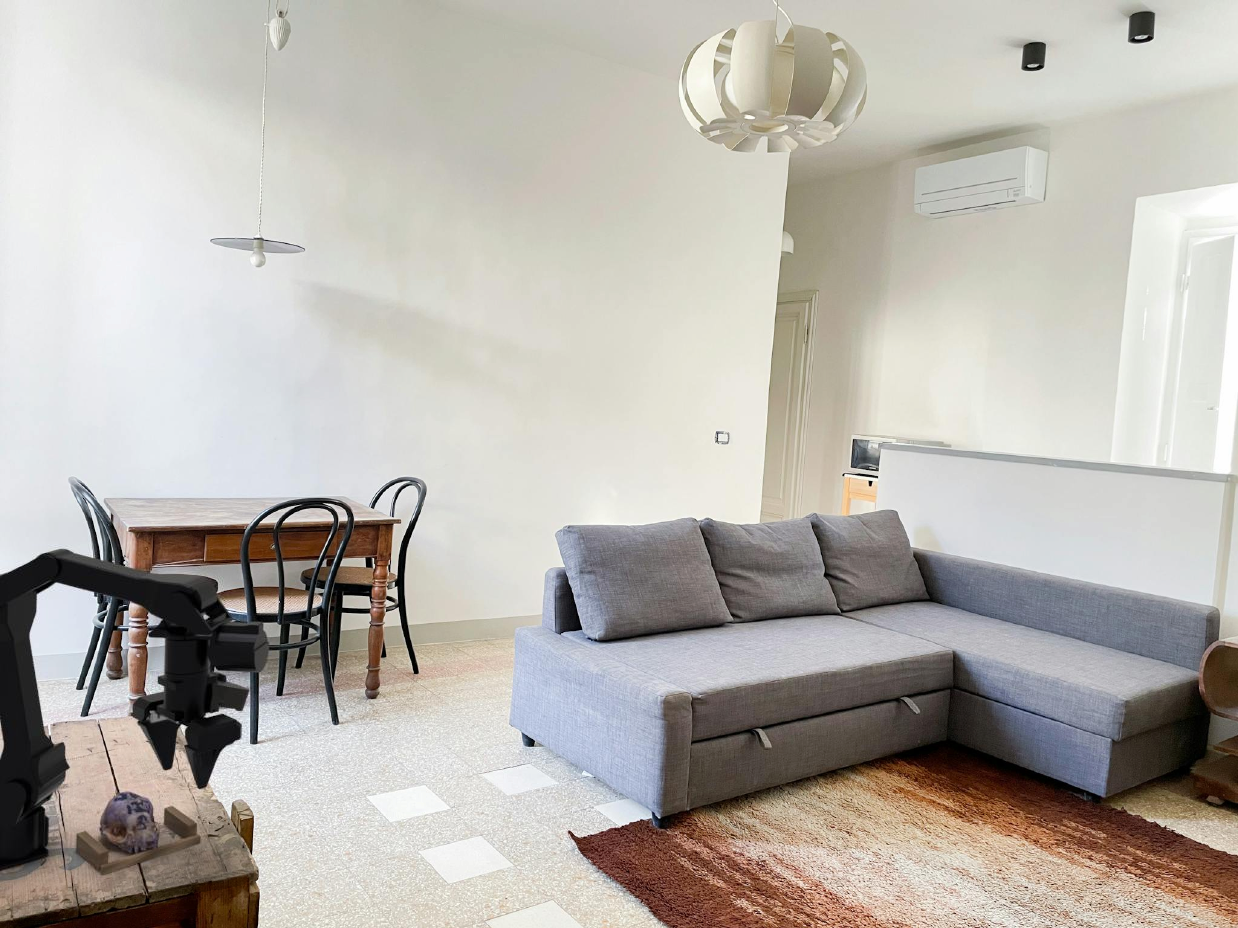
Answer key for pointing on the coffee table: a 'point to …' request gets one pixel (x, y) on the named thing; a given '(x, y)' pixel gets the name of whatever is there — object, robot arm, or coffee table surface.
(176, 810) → the rail notch
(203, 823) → the coffee table surface
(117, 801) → the skull
